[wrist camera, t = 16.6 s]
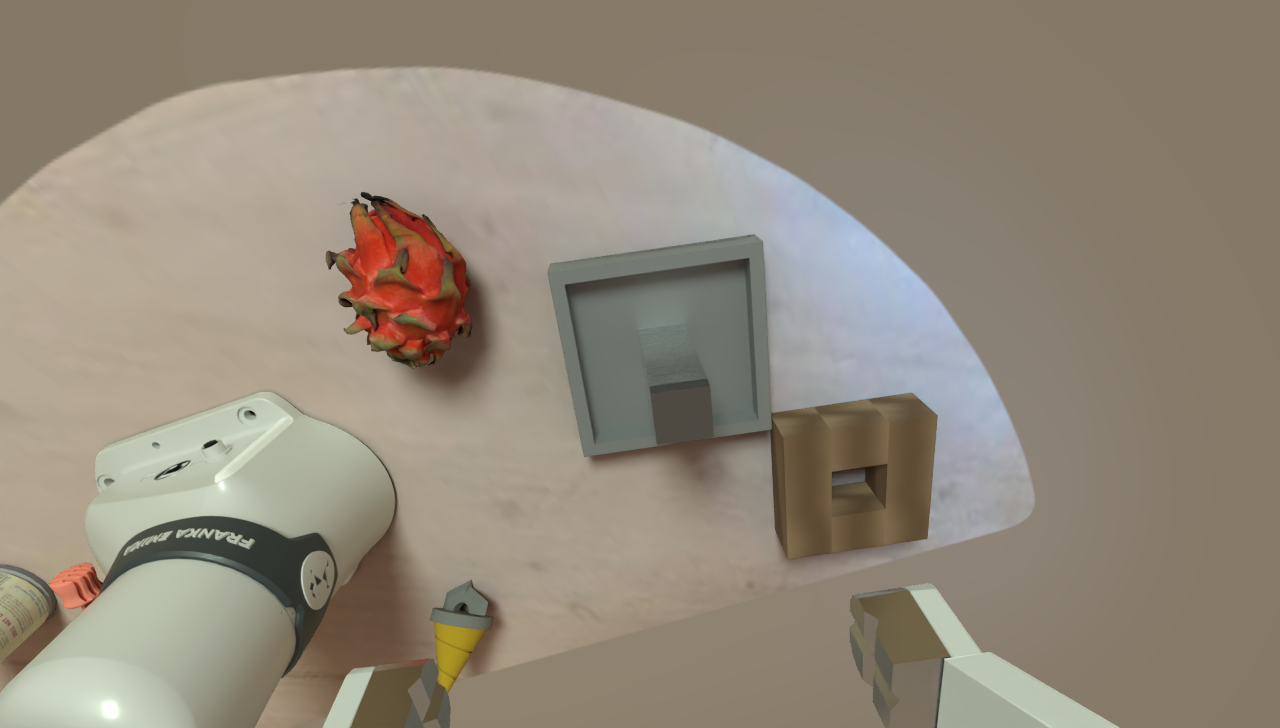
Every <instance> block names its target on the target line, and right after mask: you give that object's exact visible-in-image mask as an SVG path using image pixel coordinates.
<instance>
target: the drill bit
mask: <svg viewBox="0 0 1280 728" xmlns="http://www.w3.org/2000/svg"><path fill="white" fill-rule="evenodd" d="M463 604H467V606H468V609H469V612H467V611H461V610H459V609H460V608H461V606H462V605H463ZM487 606H488V602H487V601H486V600H485V599H484V598H483V597H482V596H481V595H480V594H478V593H477V592H476V591H475V590H474V589H473V588H472V580H470V581H468V582H466V583H464V584H463V585H461V586H459V587H457V588H455V589H453V590H451V591H449V592H447V596H446V599H445V603H444V607H443V608H433V611H432V615H431V618H430V620H431V621H433V622H434V624H435V638H436V652H437V663H438V664H437V667H438V670H439V674H438V681H439V684H441V685H442V686H444V687H445V688H446V691H447V693H448V692H449V690H450V689H451V687H452V685H453V684H454V682H455V680H456V679H457V677H458V675H459V674H460V672H461V670H462V669H463V667H464V665H465V664H466V662H467V660H468V659H469V657H470V655H471V654H470V653H472V652H473V650H474V649H475V647H476V645H477V644H478V642H479V640H480V639H481V637H482V635H483V634H484V632H485V630H490V629H491V626H492V621H493V617H491V616H487V615H485V614H486V610H487Z"/></svg>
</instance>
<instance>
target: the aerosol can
mask: <svg viewBox="0 0 1280 728" xmlns="http://www.w3.org/2000/svg"><path fill="white" fill-rule="evenodd" d="M55 609H56V599H55V596H54V594H53V591H52V590H51V589H50V588H49V586H48V585H47V584H46V583H45V582H44V581H43V580H41V579H40V578H38V577H37V576H36V575H34V574H32V573H30V572H28V571H25V570H23V569H21V568H17V567H13V566H8V565H0V663H1V662H2V661H3V660H4V659H5V658H6V657H7V656H8V655H10V654H11V653H12V652H13V651H14V650H15V649H16V648H17V647H18V646H19V645H20V644H22V643H23V642H24V641H25V640H26V639H27V638H28V637H29V636H30V635H31V634H32V633H33V632H35V631H36V630H37V629H38V628H39V627H40V626H41V625H42V624H43V623H44V622H45V621H46V620H48V619H49V618H50V617H51V616H52V614H53V613H54V611H55Z"/></svg>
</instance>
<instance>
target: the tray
mask: <svg viewBox="0 0 1280 728" xmlns="http://www.w3.org/2000/svg"><path fill="white" fill-rule="evenodd" d="M547 273H548V278H549V283H550V288H551V293H552V298H553V303H554V308H555V313H556V318H557V323H558V328H559V334H560V339H561V344H562V349H563V354H564V359H565V364H566V369H567V374H568V379H569V384H570V389H571V394H572V399H573V404H574V409H575V414H576V419H577V424H578V429H579V434H580V439H581V444H582V449H583V454H584V457H587V456H594V455H601V454H608V453H614V452H621V451H628V450H635V449H642V448H649V447H655V446H662V445H669V444H676V443H683V442H689V441H683V442H676V443H669V444H661V445H657V443H656V437H655V431H654V425H653V420H652V414H651V408H650V402H649V396H648V391H647V385H646V379H645V373H644V366H643V358H642V350H641V342H640V334H639V329H646V328H653V327H661V326H668V325H676V324H683V323H685V325H686V327H687V330H688V332H689V335H690V337H691V340H692V342H693V345H694V347H695V350H696V352H697V355H698V357H699V359H700V362H701V364H702V367H703V369H704V372H705V374H706V377H707V379H708V382H709V384H710V391H711V404H712V417H713V429H714V437H713V438H717V437H724V436H730V435H737V434H744V433H751V432H758V431H765V430H771V429H772V424H771V402H770V381H769V359H768V338H767V316H766V295H765V273H764V252H763V241H762V240H760V239H759V238H758V237H757V236H755V235H748V236H741V237H734V238H727V239H720V240H713V241H706V242H699V243H692V244H685V245H678V246H672V247H665V248H658V249H651V250H644V251H637V252H630V253H623V254H616V255H609V256H602V257H595V258H588V259H581V260H575V261H568V262H561V263H554V264H550V266H549V269H548V272H547ZM705 439H710V438H705ZM698 440H703V439H698ZM691 441H696V440H691Z"/></svg>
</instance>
